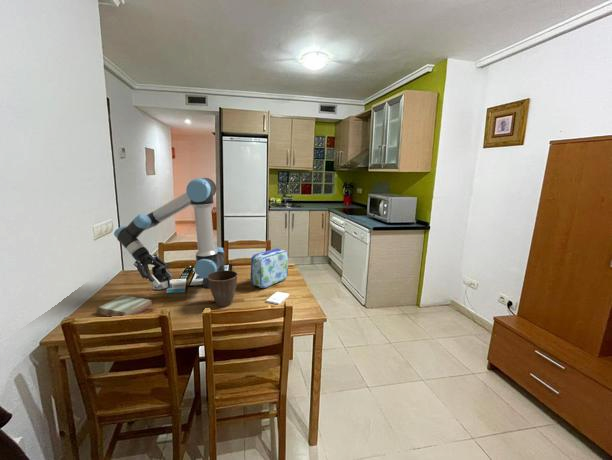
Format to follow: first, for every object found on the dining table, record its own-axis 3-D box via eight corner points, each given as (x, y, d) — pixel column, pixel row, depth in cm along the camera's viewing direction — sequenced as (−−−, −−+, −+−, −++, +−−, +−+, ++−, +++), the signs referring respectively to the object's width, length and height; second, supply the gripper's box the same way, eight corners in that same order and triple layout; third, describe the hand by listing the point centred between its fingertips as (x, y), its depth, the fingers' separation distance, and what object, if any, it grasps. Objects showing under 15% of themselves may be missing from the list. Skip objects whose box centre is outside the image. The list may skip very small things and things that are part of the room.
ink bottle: (148, 292, 150) (145, 270, 147) (155, 285, 158) (152, 264, 156) (167, 291, 151) (165, 269, 148) (173, 284, 159) (171, 264, 157)
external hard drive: (289, 296, 162) (279, 305, 150) (276, 293, 165) (265, 302, 153) (289, 293, 161) (279, 302, 150) (276, 291, 164) (265, 300, 153)
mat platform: (151, 305, 147) (151, 299, 147) (126, 320, 133) (125, 313, 133) (124, 300, 152) (123, 294, 152) (97, 314, 138) (96, 307, 138)
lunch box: (278, 274, 193) (278, 244, 189) (290, 278, 187) (290, 247, 182) (249, 286, 173) (247, 253, 168) (261, 291, 166) (260, 257, 162)
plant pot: (207, 311, 142) (205, 281, 139) (210, 298, 156) (209, 271, 153) (238, 309, 145) (237, 279, 142) (238, 296, 159) (237, 269, 156)
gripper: (150, 249, 165) (176, 278, 164) (116, 261, 145) (145, 294, 144) (156, 241, 162) (182, 271, 161) (123, 252, 142) (153, 285, 141)
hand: (165, 281), depth 153 cm, fingers closed on ink bottle, 9 cm apart
